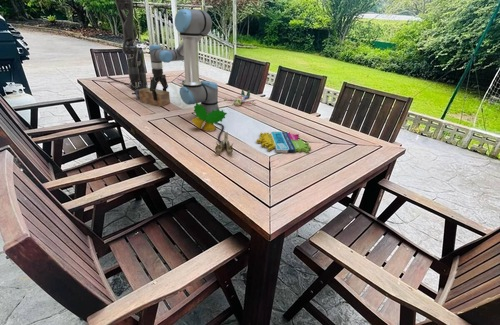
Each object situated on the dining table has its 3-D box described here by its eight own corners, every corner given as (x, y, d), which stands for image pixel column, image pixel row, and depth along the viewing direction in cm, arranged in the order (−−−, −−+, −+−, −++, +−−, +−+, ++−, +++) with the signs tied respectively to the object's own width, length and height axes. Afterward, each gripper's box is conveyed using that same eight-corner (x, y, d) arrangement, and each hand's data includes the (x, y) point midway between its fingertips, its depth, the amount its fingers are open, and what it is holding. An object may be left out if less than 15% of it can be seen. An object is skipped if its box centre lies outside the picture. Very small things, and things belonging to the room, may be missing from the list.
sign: (313, 150, 142) (258, 149, 139) (312, 153, 143) (258, 152, 140) (301, 132, 164) (254, 130, 161) (301, 134, 165) (254, 133, 162)
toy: (261, 91, 228) (254, 99, 202) (261, 99, 231) (253, 108, 205) (231, 87, 233) (220, 95, 207) (230, 95, 236) (219, 104, 210)
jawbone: (234, 135, 144) (233, 125, 135) (233, 160, 138) (232, 151, 129) (217, 135, 144) (216, 125, 135) (216, 160, 138) (214, 150, 129)
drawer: (131, 98, 206) (129, 89, 203) (139, 95, 214) (138, 87, 210) (156, 103, 198) (154, 94, 195) (163, 100, 206) (163, 91, 202)
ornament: (218, 133, 171) (224, 110, 169) (221, 134, 163) (227, 111, 161) (186, 125, 162) (192, 101, 160) (189, 126, 155) (195, 101, 153)
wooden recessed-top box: (140, 101, 203) (138, 90, 199) (149, 98, 211) (148, 87, 207) (161, 106, 197) (160, 94, 192) (170, 103, 205) (169, 91, 200)
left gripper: (136, 71, 207) (139, 93, 215) (123, 73, 196) (127, 96, 204) (143, 72, 204) (146, 94, 213) (131, 74, 194) (134, 97, 202)
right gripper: (163, 65, 200) (166, 94, 211) (141, 69, 181) (145, 101, 192) (171, 66, 197) (173, 96, 208) (150, 71, 179) (153, 102, 190)
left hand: (137, 95), depth 208 cm, fingers closed
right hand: (160, 98), depth 200 cm, fingers closed on wooden recessed-top box, 10 cm apart
